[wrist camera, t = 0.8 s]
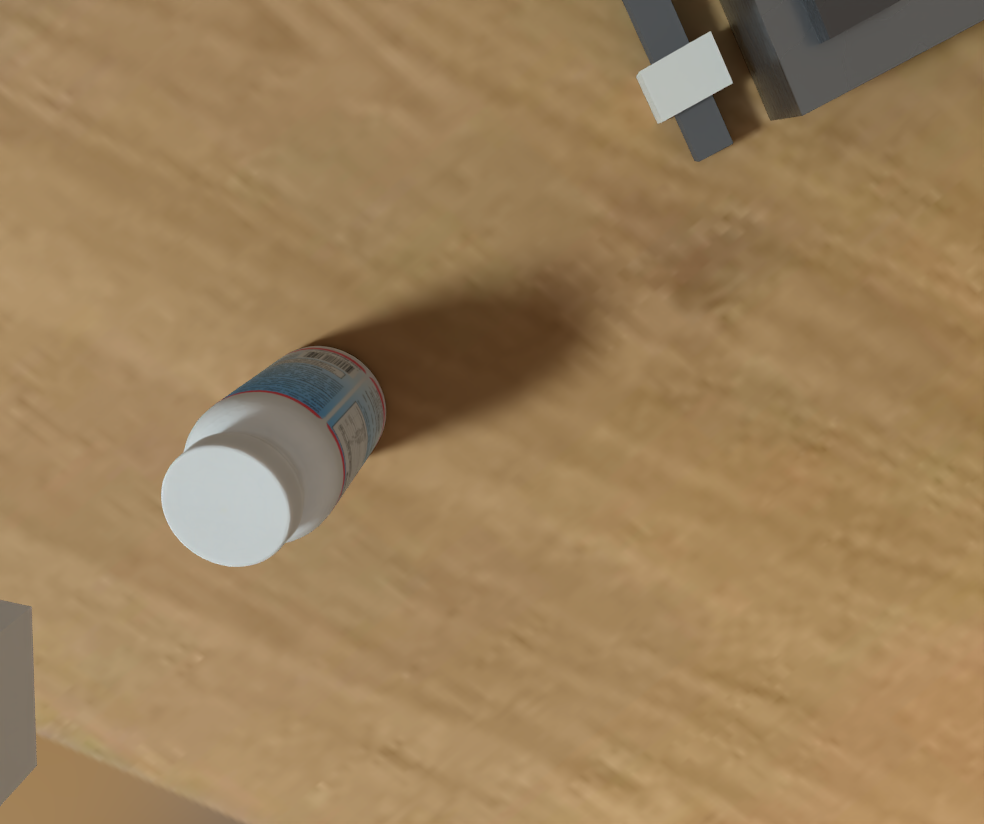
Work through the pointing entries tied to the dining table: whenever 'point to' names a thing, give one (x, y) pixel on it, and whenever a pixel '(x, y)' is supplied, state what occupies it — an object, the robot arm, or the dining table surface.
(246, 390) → the pill bottle
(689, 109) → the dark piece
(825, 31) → the panel
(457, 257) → the dining table surface
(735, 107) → the dining table surface
